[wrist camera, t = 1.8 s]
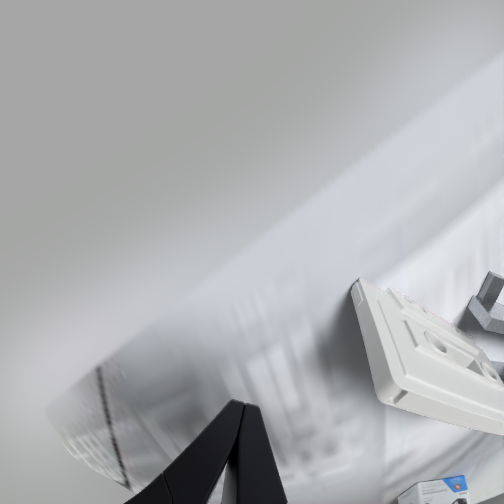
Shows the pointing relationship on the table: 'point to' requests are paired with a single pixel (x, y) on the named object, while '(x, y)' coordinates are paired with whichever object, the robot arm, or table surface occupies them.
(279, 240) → the table surface
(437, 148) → the table surface
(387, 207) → the table surface
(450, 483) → the ink box
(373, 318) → the cassette
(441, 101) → the table surface
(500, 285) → the bracket
